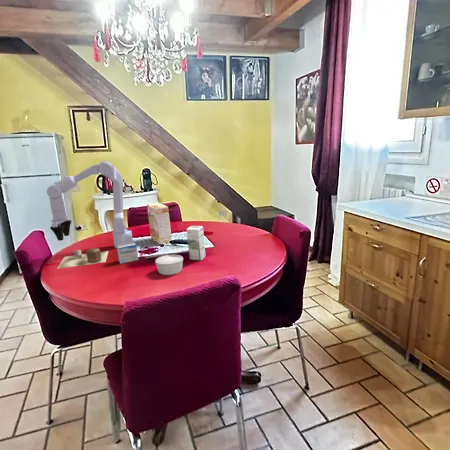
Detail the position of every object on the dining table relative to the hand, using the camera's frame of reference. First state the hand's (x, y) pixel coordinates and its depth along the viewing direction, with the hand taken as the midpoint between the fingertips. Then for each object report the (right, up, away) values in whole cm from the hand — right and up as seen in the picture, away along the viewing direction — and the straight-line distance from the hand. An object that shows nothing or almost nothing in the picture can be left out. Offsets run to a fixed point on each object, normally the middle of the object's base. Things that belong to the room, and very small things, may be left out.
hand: (63, 237), depth 161 cm
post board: (+13, -11, -6) cm, 18 cm away
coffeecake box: (+43, -2, +19) cm, 47 cm away
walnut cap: (+18, -10, -9) cm, 23 cm away
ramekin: (+55, -13, -23) cm, 61 cm away
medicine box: (+35, -11, -11) cm, 38 cm away
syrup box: (+65, -9, -11) cm, 67 cm away
